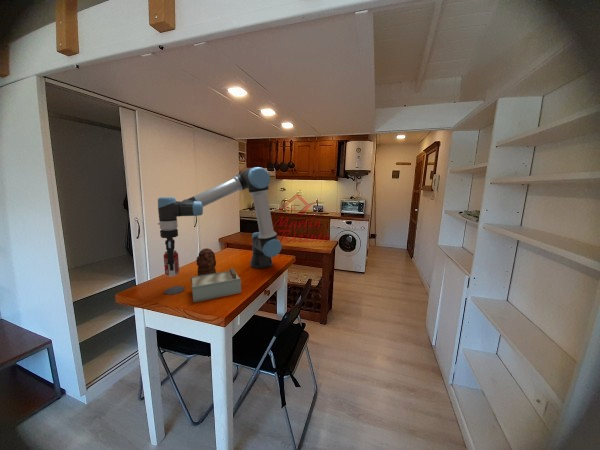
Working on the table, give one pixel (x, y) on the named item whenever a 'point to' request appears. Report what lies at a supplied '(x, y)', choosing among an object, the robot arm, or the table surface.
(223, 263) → the table surface
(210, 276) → the lid
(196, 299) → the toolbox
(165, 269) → the beverage can
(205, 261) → the wooden figurine
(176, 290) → the coaster
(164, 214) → the robot arm
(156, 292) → the table surface
